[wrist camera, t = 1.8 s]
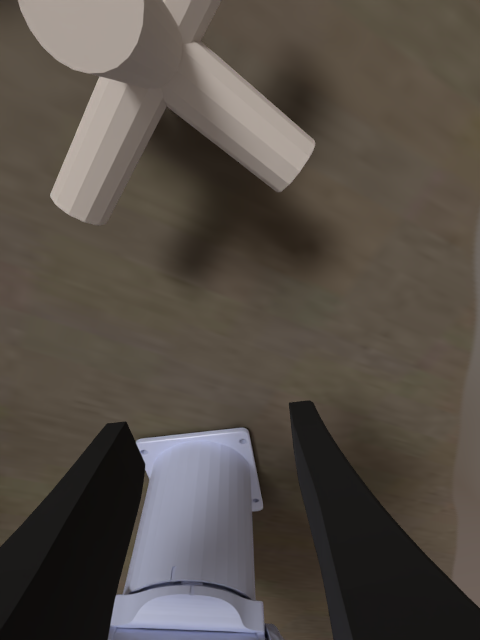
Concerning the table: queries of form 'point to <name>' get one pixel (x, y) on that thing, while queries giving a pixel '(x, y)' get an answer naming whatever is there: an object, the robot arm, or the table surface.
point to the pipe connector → (154, 95)
